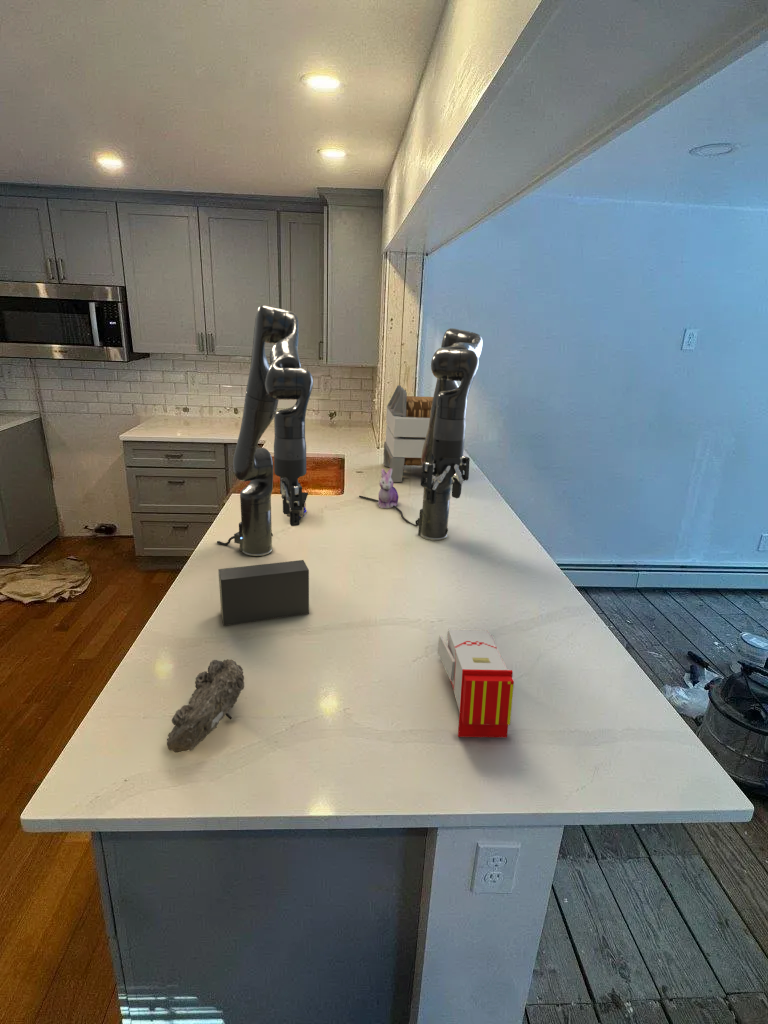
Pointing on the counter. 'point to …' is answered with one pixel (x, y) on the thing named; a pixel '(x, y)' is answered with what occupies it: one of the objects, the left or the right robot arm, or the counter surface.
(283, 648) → the counter surface
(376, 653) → the counter surface
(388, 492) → the figurine
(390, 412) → the transformer
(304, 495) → the figurine character
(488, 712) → the toy
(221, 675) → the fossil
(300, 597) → the box
